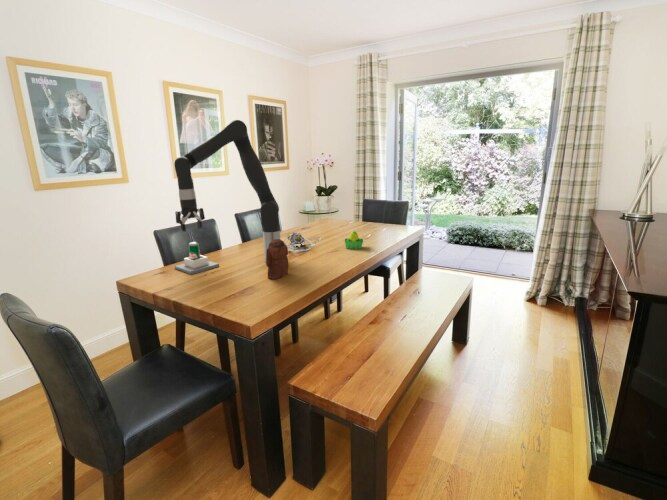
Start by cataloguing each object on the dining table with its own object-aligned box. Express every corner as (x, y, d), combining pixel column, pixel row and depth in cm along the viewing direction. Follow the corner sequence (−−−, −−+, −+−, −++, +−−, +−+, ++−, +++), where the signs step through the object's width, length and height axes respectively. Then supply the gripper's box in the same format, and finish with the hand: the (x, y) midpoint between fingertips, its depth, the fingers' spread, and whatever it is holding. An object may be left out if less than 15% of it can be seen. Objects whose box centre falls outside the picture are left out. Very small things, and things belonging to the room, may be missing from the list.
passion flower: (299, 256, 220) (292, 244, 212) (288, 250, 227) (281, 238, 219) (311, 244, 224) (304, 231, 216) (300, 238, 231) (293, 226, 222)
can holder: (219, 266, 186) (218, 256, 184) (191, 274, 174) (189, 263, 172) (202, 261, 195) (201, 251, 194) (174, 268, 183) (173, 258, 182)
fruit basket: (363, 246, 220) (363, 228, 217) (363, 250, 211) (363, 231, 208) (345, 246, 221) (345, 228, 218) (344, 250, 212) (344, 231, 210)
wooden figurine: (280, 271, 176) (277, 236, 171) (290, 273, 172) (288, 237, 168) (264, 278, 166) (261, 241, 161) (275, 280, 163) (272, 243, 158)
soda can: (189, 266, 182) (186, 243, 179) (194, 263, 187) (191, 241, 184) (197, 266, 181) (195, 244, 178) (203, 263, 186) (200, 241, 183)
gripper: (177, 200, 167) (182, 233, 172) (204, 196, 178) (208, 228, 182) (170, 199, 172) (175, 231, 176) (196, 196, 183) (200, 226, 187)
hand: (192, 229), depth 179 cm, fingers open, 8 cm apart
